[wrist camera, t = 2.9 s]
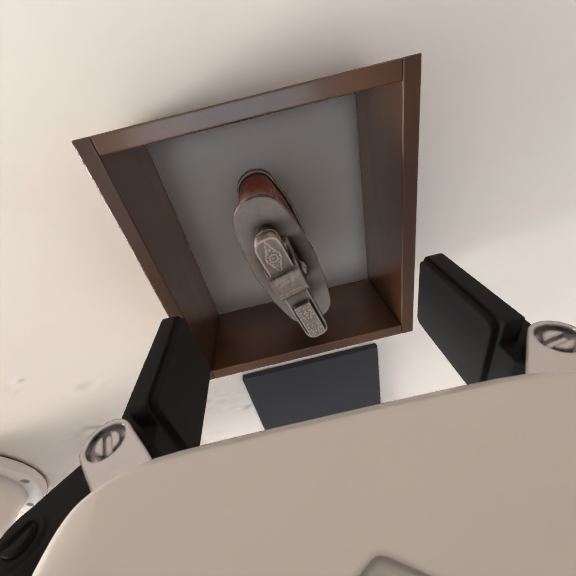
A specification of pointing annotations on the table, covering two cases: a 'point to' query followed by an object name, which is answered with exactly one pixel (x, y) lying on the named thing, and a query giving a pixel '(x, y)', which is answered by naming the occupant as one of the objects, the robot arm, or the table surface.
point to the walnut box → (270, 317)
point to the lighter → (280, 251)
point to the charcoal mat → (316, 387)
